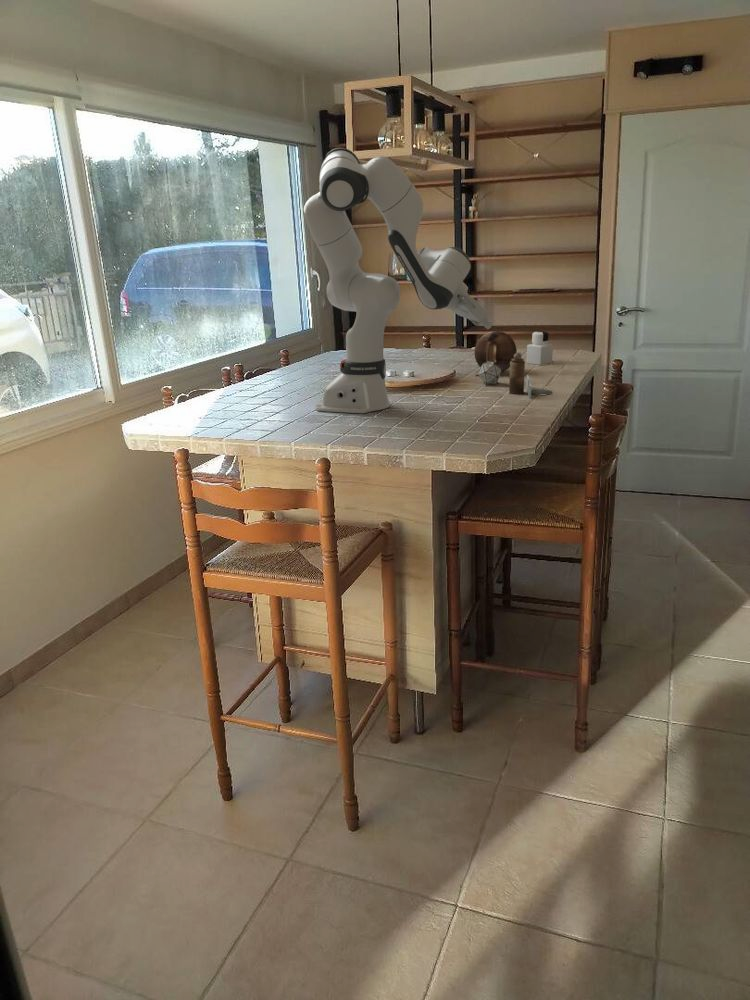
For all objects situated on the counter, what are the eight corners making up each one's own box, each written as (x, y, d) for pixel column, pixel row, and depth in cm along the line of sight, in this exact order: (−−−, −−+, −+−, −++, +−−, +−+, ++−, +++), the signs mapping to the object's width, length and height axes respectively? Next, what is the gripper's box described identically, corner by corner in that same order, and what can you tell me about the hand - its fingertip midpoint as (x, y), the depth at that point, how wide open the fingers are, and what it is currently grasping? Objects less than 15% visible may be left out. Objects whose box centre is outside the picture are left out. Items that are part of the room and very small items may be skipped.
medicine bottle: (537, 361, 297) (539, 330, 293) (552, 363, 292) (554, 331, 288) (525, 363, 293) (527, 332, 289) (540, 365, 288) (542, 333, 284)
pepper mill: (509, 394, 241) (510, 354, 237) (508, 391, 245) (510, 351, 241) (524, 394, 240) (525, 353, 236) (523, 391, 245) (524, 351, 240)
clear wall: (528, 398, 234) (529, 386, 233) (526, 387, 251) (526, 375, 249) (530, 398, 234) (531, 386, 233) (528, 387, 251) (528, 375, 249)
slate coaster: (529, 395, 239) (529, 393, 239) (528, 390, 246) (528, 389, 246) (552, 395, 238) (552, 393, 238) (550, 390, 245) (550, 389, 245)
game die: (494, 395, 257) (506, 375, 250) (471, 387, 256) (482, 366, 249) (496, 378, 263) (508, 357, 255) (473, 370, 262) (485, 349, 254)
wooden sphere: (488, 368, 286) (489, 327, 281) (523, 371, 277) (525, 330, 272) (466, 374, 276) (466, 332, 271) (501, 378, 266) (502, 335, 261)
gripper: (472, 288, 216) (504, 321, 221) (449, 283, 235) (479, 314, 240) (457, 305, 216) (489, 337, 222) (436, 299, 235) (465, 329, 241)
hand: (483, 325), depth 231 cm, fingers open, 8 cm apart
